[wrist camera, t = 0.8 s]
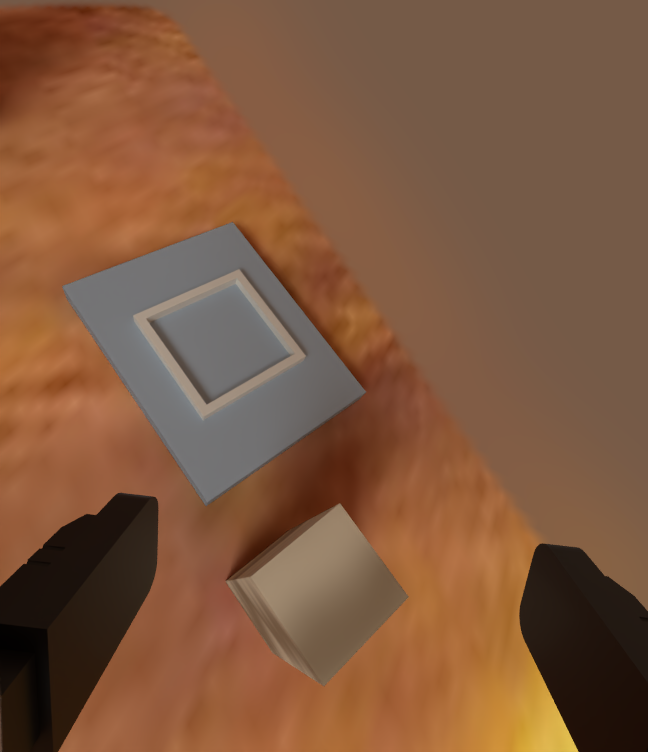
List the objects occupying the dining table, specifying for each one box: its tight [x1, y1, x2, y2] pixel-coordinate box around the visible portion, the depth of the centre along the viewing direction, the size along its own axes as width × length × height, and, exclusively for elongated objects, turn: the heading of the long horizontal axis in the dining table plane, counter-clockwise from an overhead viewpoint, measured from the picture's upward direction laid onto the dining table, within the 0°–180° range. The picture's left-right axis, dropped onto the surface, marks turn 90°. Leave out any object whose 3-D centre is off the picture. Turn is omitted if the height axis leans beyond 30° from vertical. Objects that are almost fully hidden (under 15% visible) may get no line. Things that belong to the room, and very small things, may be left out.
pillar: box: [226, 503, 408, 686], centre depth 24 cm, size 5×5×11 cm
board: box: [62, 222, 366, 506], centre depth 33 cm, size 18×14×2 cm
